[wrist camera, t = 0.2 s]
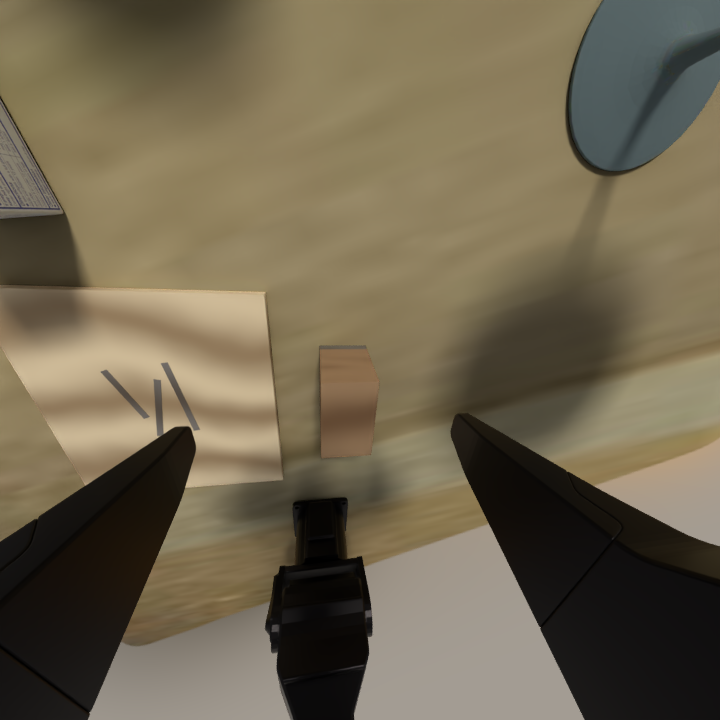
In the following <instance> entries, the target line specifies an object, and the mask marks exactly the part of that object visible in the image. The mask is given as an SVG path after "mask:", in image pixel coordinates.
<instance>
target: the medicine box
mask: <svg viewBox="0 0 720 720" xmlns="http://www.w3.org/2000/svg"><path fill="white" fill-rule="evenodd" d="M58 214H63V210H62V208H61V207H60V205H59V203H58V201H57V200H56V198H55V196H54V194H53V193H52V191H51V189H50V187H49V185H48V184H47V182H46V180H45V178H44V177H43V175H42V173H41V171H40V169H39V168H38V166H37V164H36V162H35V160H34V159H33V157H32V155H31V153H30V151H29V150H28V148H27V146H26V144H25V142H24V141H23V139H22V137H21V135H20V133H19V131H18V130H17V128H16V126H15V124H14V122H13V121H12V119H11V117H10V115H9V114H8V112H7V110H6V108H5V107H4V105H3V103H2V101H1V99H0V219H4V218H17V217H31V216H45V215H58Z"/></svg>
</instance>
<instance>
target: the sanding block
mask: <svg viewBox="0 0 720 720" xmlns="http://www.w3.org/2000/svg"><path fill="white" fill-rule="evenodd" d="M378 390H379V379H378V377H377V374H376V372H375V369H374V366H373V364H372V361H371V358H370V356H369V353H368V351H367V348H366V346H320V430H321V458H333V457H348V456H363V455H371V451H372V442H373V434H374V425H375V416H376V408H377V399H378Z"/></svg>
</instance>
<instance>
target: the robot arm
mask: <svg viewBox="0 0 720 720" xmlns="http://www.w3.org/2000/svg"><path fill="white" fill-rule="evenodd" d="M451 438H452V441H453V443H454V446H455V449H456V452H457V454H458V457H459V460H460V462H461V465H462V468H463V470H464V473H465V475H466V478H467V480H468V482H469V484H470V486H471V488H472V490H473V492H474V494H475V496H476V498H477V500H478V502H479V504H480V506H481V508H482V510H483V512H484V515H485V517H486V519H487V521H488V523H489V525H490V527H491V528H492V531H493V533H494V535H495V537H496V539H497V541H498V543H499V545H500V547H501V549H502V551H503V553H504V555H505V557H506V559H507V562H508V564H509V566H510V568H511V570H512V572H513V574H514V575H515V578H516V580H517V582H518V584H519V586H520V588H521V590H522V592H523V594H524V596H525V598H526V600H527V602H528V604H529V606H530V609H531V611H532V613H533V615H534V617H535V619H536V621H537V623H538V625H539V626H540V627H541V628H540V629H541V631H542V633H543V636H544V638H545V639H546V642H547V644H548V646H549V648H550V650H551V652H552V654H553V656H554V658H555V660H556V662H557V664H558V666H559V668H560V670H561V672H562V674H563V676H564V678H565V680H566V683H567V684H568V686H569V689H570V691H571V693H572V695H573V697H574V699H575V701H576V703H577V705H578V707H579V709H580V711H581V713H582V715H583V717H584V719H585V720H720V546H716V545H713V544H709V543H707V542H704V541H701V540H698V539H696V538H693V537H691V536H688V535H686V534H684V533H682V532H680V531H678V530H676V529H674V528H672V527H670V526H669V525H667V524H665V523H663V522H661V521H659V520H657V519H655V518H653V517H651V516H649V515H647V514H645V513H643V512H641V511H639V510H638V509H636V508H634V507H632V506H630V505H628V504H626V503H624V502H622V501H620V500H618V499H616V498H615V497H613V496H611V495H609V494H607V493H605V492H603V491H601V490H600V489H598V488H596V487H594V486H593V485H591V484H589V483H587V482H585V481H584V480H582V479H580V478H578V477H577V476H575V475H573V474H572V473H570V472H567V471H566V470H565V469H563V468H561V467H559V466H558V465H556V464H554V463H553V462H551V461H549V460H547V459H546V458H544V457H542V456H540V455H539V454H537V453H535V452H534V451H532V450H530V449H528V448H527V447H525V446H523V445H522V444H520V443H518V442H516V441H515V440H513V439H511V438H509V437H508V436H506V435H504V434H503V433H501V432H499V431H497V430H496V429H494V428H492V427H490V426H489V425H487V424H485V423H484V422H482V421H480V420H478V419H477V418H475V417H473V416H472V415H470V414H468V413H458V414H456V415H455V417H454V420H453V424H452V428H451ZM195 453H196V443H195V440H194V436H193V433H192V430H191V428H190V427H189V426H177V427H174V428H172V429H170V430H169V431H167V432H166V433H164V434H163V435H161V436H160V437H158V438H157V439H155V440H154V441H152V442H151V443H149V444H148V445H146V446H145V447H143V448H142V449H140V450H139V451H137V452H136V453H134V454H133V455H131V456H130V457H128V458H126V459H125V460H123V461H122V462H120V463H119V464H117V465H116V466H114V467H113V468H111V469H110V470H108V471H107V472H105V473H104V474H102V475H101V476H99V477H98V478H96V479H95V480H93V481H92V482H90V483H89V484H87V485H86V486H84V487H83V488H81V489H80V490H78V491H77V492H75V493H74V494H72V495H71V496H69V497H68V498H66V499H64V500H63V501H61V502H60V503H58V504H57V505H55V506H54V507H52V508H51V509H49V510H48V511H46V512H45V513H43V514H42V515H40V516H39V517H38V519H34V520H33V521H31V522H30V523H28V524H27V525H25V526H24V527H22V528H21V529H19V530H17V531H16V532H14V533H13V534H11V535H10V536H8V537H7V538H5V539H4V540H2V541H1V542H0V720H88V718H89V715H90V713H89V712H90V711H91V710H92V708H93V705H94V703H95V701H96V698H97V696H98V694H99V691H100V689H101V687H102V684H103V682H104V680H105V677H106V675H107V673H108V670H109V668H110V666H111V663H112V661H113V658H114V656H115V654H116V652H117V649H118V647H119V645H120V642H121V640H122V638H123V635H124V633H125V631H126V628H127V626H128V624H129V621H130V619H131V616H132V614H133V612H134V609H135V607H136V605H137V602H138V600H139V598H140V595H141V593H142V591H143V588H144V586H145V584H146V581H147V579H148V577H149V574H150V572H151V570H152V567H153V565H154V563H155V560H156V558H157V556H158V553H159V551H160V549H161V546H162V544H163V542H164V539H165V537H166V535H167V532H168V530H169V528H170V525H171V523H172V521H173V518H174V516H175V513H176V511H177V509H178V506H179V504H180V501H181V499H182V496H183V493H184V490H185V486H186V483H187V480H188V476H189V473H190V470H191V466H192V463H193V460H194V457H195ZM347 506H348V501H347V499H346V498H336V499H325V500H314V501H303V502H295V503H294V504H293V518H294V530H295V536H296V551H295V565H293V566H280V568H279V573H278V574H277V575H275V576H274V582H273V590H272V597H271V601H270V606H269V610H268V615H267V619H266V625H265V630H266V631H267V633H268V634H269V635H270V642H271V652H272V653H278V655H277V674H278V679H279V684H280V689H281V693H282V696H283V699H284V702H285V704H286V707H287V710H288V713H289V716H290V719H291V720H354V712H355V709H356V705H357V701H358V697H359V693H360V689H361V685H362V681H363V678H364V673H365V669H366V664H367V660H368V656H369V645H368V637H371V636H372V611H371V602H370V596H369V590H368V585H367V580H366V575H365V570H364V565H363V560H362V556H359V557H357V558H351V559H347V548H346V538H345V531H346V521H347Z"/></svg>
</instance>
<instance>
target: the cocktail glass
mask: <svg viewBox="0 0 720 720" xmlns="http://www.w3.org/2000/svg"><path fill="white" fill-rule="evenodd" d="M719 80H720V0H603V1H602V2H601V4H600V6H599V7H598V9H597V10H596V12H595V14H594V16H593V18H592V20H591V22H590V24H589V26H588V28H587V30H586V33H585V36H584V38H583V41H582V43H581V46H580V48H579V51H578V55H577V58H576V62H575V65H574V69H573V73H572V79H571V84H570V92H569V123H570V128H571V133H572V137H573V140H574V142H575V145H576V147H577V149H578V151H579V152H580V154H581V155H582V157H583V158H584V159H585V160H586V161H588V162H589V163H590V164H591V165H593V166H595V167H597V168H599V169H602V170H606V171H623V170H628V169H632V168H634V167H637V166H640V165H642V164H644V163H646V162H648V161H650V160H651V159H653V158H655V157H656V156H658V155H659V154H660V153H662V152H663V151H664V150H666V149H667V148H668V147H670V146H671V145H672V144H673V143H674V142H675V141H676V140H677V139H678V138H679V137H680V136H681V135H682V134H683V133H684V132H685V131H686V130H687V128H688V127H689V126H690V125H691V124H692V123H693V121H694V120H695V119H696V117H697V116H698V115H699V113H700V112H701V111H702V109H703V108H704V106H705V104H706V103H707V101H708V100H709V98H710V97H711V95H712V93H713V91H714V90H715V88H716V86H717V84H718V82H719Z"/></svg>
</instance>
